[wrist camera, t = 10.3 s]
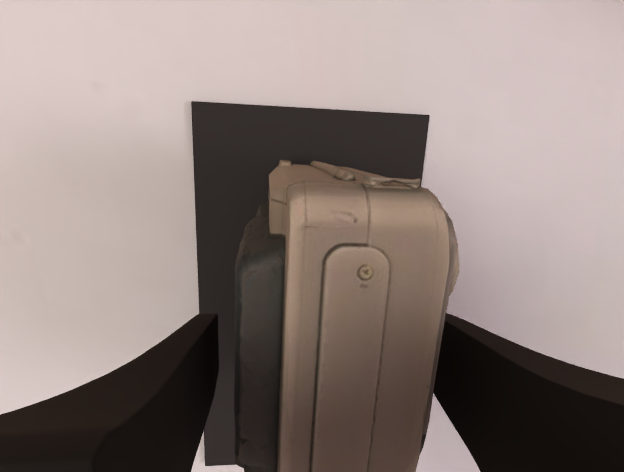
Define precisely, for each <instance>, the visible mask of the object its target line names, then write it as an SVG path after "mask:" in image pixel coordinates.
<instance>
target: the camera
mask: <svg viewBox="0 0 624 472" xmlns="http://www.w3.org/2000/svg"><path fill="white" fill-rule="evenodd" d="M268 199H269V201H268V202H265V203H261V204H260V206H259V208H258V212H257V215H256V217H254V218H253V219H252V220H250V221H249V223H248V224H247V225H246V227H245V230H244V236H243V238H242V240H241V243H240V245H239V252H238V255H237V259H236V264H235V322H234V332H235V383H234V417H235V463H236V464H237V465H238V466H240V467H242V468H244V472H416V467H417V463H418V459H419V455H420V453H421V451H422V448H423V445H424V441H425V438H426V433H427V428H428V423H429V418H430V411H431V404H432V397H433V390H434V384H435V377H436V371H437V365H438V359H439V352H440V346H441V340H442V334H443V328H444V322H445V316H446V310H447V304H448V298H449V296H450V294H451V293H452V291H453V289H454V286H455V283H456V280H457V276H458V273H459V262H458V244H457V239H456V235H455V231H454V227H453V224H452V221H451V219H450V217H449V216H448V214H447V213H446V211H445V210H444V209H443V207H442V205H441V204H440V202H439V201H438V199H437V197H436V196H435V195H434V194H433V193H432V192H430V191H429V190H428V189H426V188H423V187H420V179H401V178H388V177H384V176H380V175H376V174H372V173H368V172H364V171H360V170H356V169H353V168H348V167H339V166H334V165H329V164H327V163H322V162H318V161H313V162H311V163H310V164H309V165H299V164H292V162H291V161H289V160H280V162H279V165H278V166H277V167H276V168H275V169H274V170H273V171H272V172H271V173H270V174H269V190H268Z"/></svg>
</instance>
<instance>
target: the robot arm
mask: <svg viewBox="0 0 624 472" xmlns="http://www.w3.org/2000/svg"><path fill="white" fill-rule="evenodd" d="M218 372H219V343H218V314H198V315H196V316H195V317H194V318H192V319H191V320H190V321H188V322H187V323H186V324H184V325H183V326H182V327H180V328H179V329H178V330H176V331H175V332H174V333H172V334H171V335H170V336H168V337H167V338H166V339H164V340H163V341H161V342H160V343H158V344H157V345H155V346H154V347H152V348H151V349H149V350H148V351H146V352H145V353H143V354H142V355H140V356H139V357H137V358H136V359H134V360H132V361H130V362H129V363H127V364H125V365H123V366H121V367H120V368H118V369H116V370H114V371H112V372H110V373H108V374H106V375H104V376H102V377H100V378H97V379H95V380H93V381H91V382H89V383H86V384H84V385H82V386H80V387H77V388H75V389H73V390H70V391H68V392H66V393H63V394H60V395H58V396H55V397H52V398H50V399H47V400H44V401H41V402H38V403H36V404H33V405H30V406H27V407H24V408H21V409H18V410H15V411H11V412H8V413H4V414H1V415H0V472H191V469H192V465H193V462H194V459H195V456H196V452H197V449H198V446H199V443H200V440H201V437H202V434H203V430H204V427H205V424H206V421H207V418H208V415H209V411H210V408H211V405H212V402H213V398H214V394H215V389H216V384H217V378H218ZM433 393H434V395H435V396H436V398H437V400H438V401H439V403H440V404H441V406H442V408H443V409H444V411H445V413H446V414H447V416H448V417H449V419H450V421H451V422H452V424H453V425H454V427H455V429H456V430H457V432H458V433H459V435H460V437H461V438H462V440H463V441H464V443H465V445H466V446H467V448H468V449H469V451H470V453H471V455H472V456H473V458H474V460H475V462H476V463H477V465H478V467H479V469H480V471H481V472H624V379H622V378H618V377H614V376H610V375H607V374H603V373H599V372H596V371H592V370H589V369H585V368H582V367H579V366H575V365H572V364H569V363H566V362H563V361H560V360H557V359H555V358H552V357H549V356H546V355H543V354H541V353H538V352H535V351H533V350H530V349H528V348H526V347H523V346H521V345H518V344H516V343H514V342H511V341H509V340H507V339H504V338H502V337H500V336H498V335H496V334H493V333H491V332H489V331H487V330H485V329H483V328H480V327H478V326H476V325H474V324H472V323H470V322H467V321H465V320H463V319H460V318H458V317H456V316H453V315H450V314H447V313H446V316H445V322H444V328H443V334H442V340H441V346H440V352H439V359H438V365H437V371H436V377H435V384H434V390H433Z"/></svg>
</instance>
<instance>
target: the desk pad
mask: <svg viewBox="0 0 624 472" xmlns="http://www.w3.org/2000/svg"><path fill="white" fill-rule="evenodd" d="M191 103H192V130H193V156H194V182H195V209H196V235H197V261H198V288H199V314H218V343H219V372H218V378H217V384H216V389H215V394H214V398H213V402H212V405H211V408H210V411H209V415H208V418H207V421H206V424H205V427H204V446H205V466H215V465H235V464H236V463H235V417H234V383H235V332H234V322H235V264H236V259H237V255H238V252H239V245H240V243H241V240H242V238H243V236H244V230H245V227H246V225H247V224H248V223H249V221H250V220H252V219H253V218H254V217H256V215H257V212H258V208H259V206H260V204H261V203H265V202H268V201H269V199H268V190H269V174H270V173H271V172H272V171H273V170H274V169H275V168H276V167H277V166H278V165H279V162H280V160H289V161H291V162H292V164H299V165H309V164H310V163H311V162H313V161H318V162H322V163H327V164H329V165H334V166H339V167H348V168H353V169H356V170H360V171H364V172H368V173H372V174H376V175H380V176H384V177H388V178H401V179H420V187H421V181H422V173H423V165H424V156H425V148H426V140H427V132H428V123H429V115H416V114H399V113H382V112H365V111H348V110H330V109H313V108H296V107H279V106H262V105H244V104H227V103H210V102H193V101H192V102H191Z"/></svg>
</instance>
